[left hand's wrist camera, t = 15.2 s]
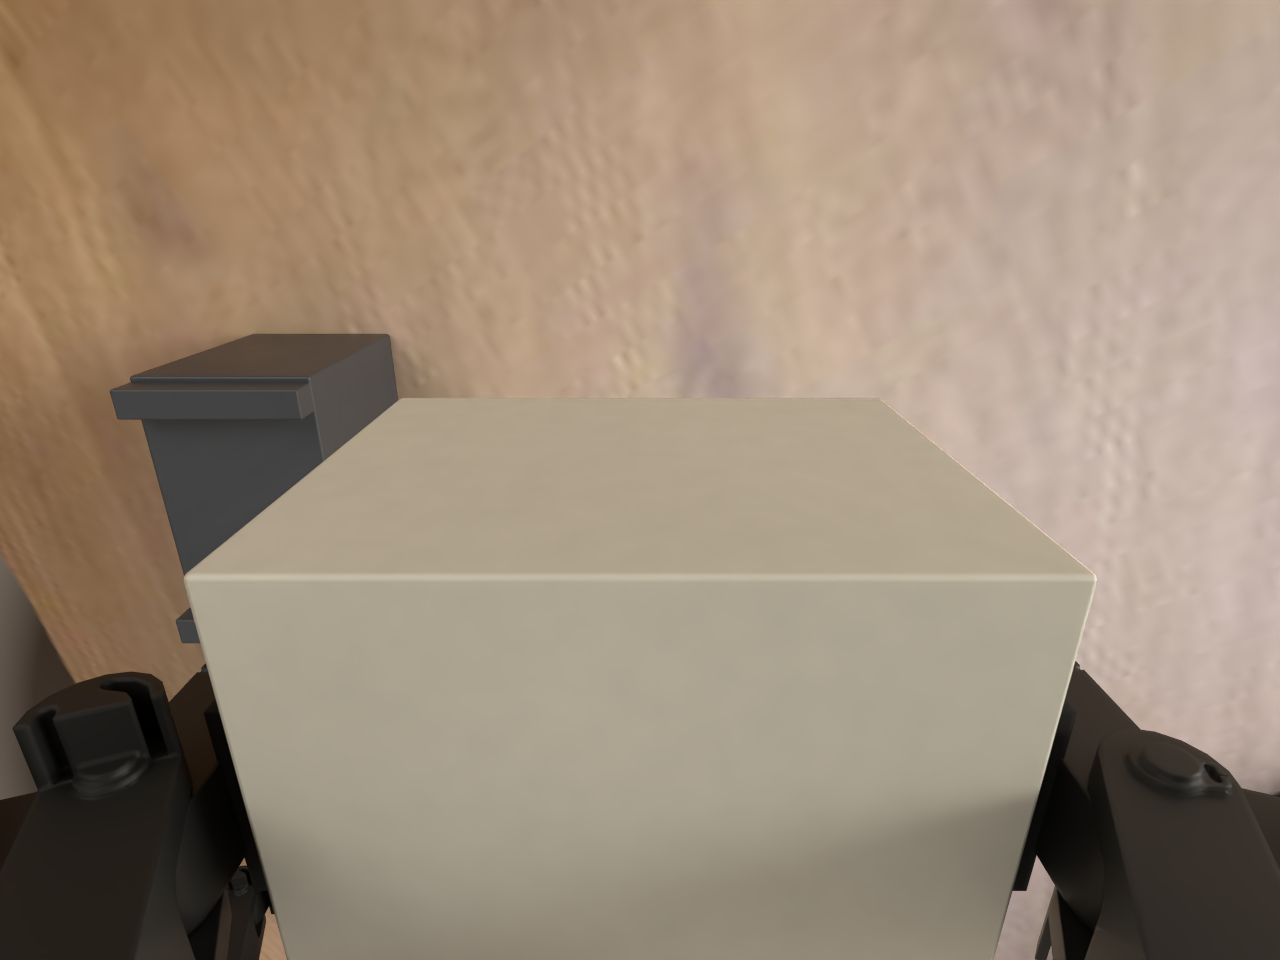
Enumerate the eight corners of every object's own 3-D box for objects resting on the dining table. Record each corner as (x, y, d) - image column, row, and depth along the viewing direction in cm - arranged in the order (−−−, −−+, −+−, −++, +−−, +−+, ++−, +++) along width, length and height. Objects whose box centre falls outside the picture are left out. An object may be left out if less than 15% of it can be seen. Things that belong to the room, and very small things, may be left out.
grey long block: (252, 333, 31) (106, 383, 22) (389, 333, 31) (295, 383, 22) (355, 840, 42) (284, 1000, 33) (456, 840, 42) (410, 1001, 33)
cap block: (399, 396, 12) (177, 575, 6) (881, 396, 12) (1102, 575, 6) (443, 732, 14) (315, 1074, 9) (837, 732, 14) (964, 1075, 9)
